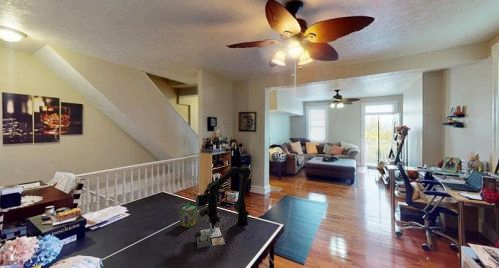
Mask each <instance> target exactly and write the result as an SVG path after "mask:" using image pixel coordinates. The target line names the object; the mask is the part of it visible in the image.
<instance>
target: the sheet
mask: <svg viewBox="0 0 499 268" xmlns="http://www.w3.org/2000/svg"><path fill="white" fill-rule="evenodd" d="M201 235H207V236H208V235H209V239H215V238H221V237H223V236H222V235H223V234H222V232H221V230H220V227H215V231H210V228H208V229H201V230H200V236H201Z"/></svg>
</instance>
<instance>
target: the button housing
mask: <svg viewBox="0 0 499 268" xmlns="http://www.w3.org/2000/svg"><path fill="white" fill-rule="evenodd" d="M196 245H197V247H196V248H197V249H200V248H201V249H202V248H205V247H211V238H209V235H208V236H207V241H206V242H200V236H197V237H196Z"/></svg>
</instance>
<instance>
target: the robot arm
mask: <svg viewBox="0 0 499 268" xmlns="http://www.w3.org/2000/svg"><path fill="white" fill-rule="evenodd" d="M235 174H237V175H238V176H239V187H238V194H237V200H236V201H234V202H233V203H234V204H233V210H234V211H235V212H236V214H237V215H236V222H237V224H238V225H239V226H244V225H248V224H249V223H248V216H249V215H250V212H249V211H248V210H247V205H246V200H245V199H246V192H247V191H246V190H247V182H248V179H249V178H250V174H251V169H250V168H249V167H246V166H240V167H239V166H231V167H230V168H229V169H228V170H226V172H225V173H223V174H221V176H220V177H219V178H217V179H216V180H213V181H211V182H209V183H208V184H207V186H206V189H205V190H204V192H203V194H196V197H195V206H196V207H202V206H205V207H203V208H200V209H199V210H198V214H199V215H200V218H203V217H204V216H206V215H207V216H208V222H209V224H210V223H211V225H212V229H213V228H214V227H215V228H216V225H217V223H219V222H220V218H221V217H220V216H219V215H218V207H219V206H218V205H219V204H218V197H220V196H221V194H220V193H219V191H220V190H221V188H222V186H223V185H224V184H225V183H226V182H227V181H229V180H230V179H231V178H232V177H233V176H234V175H235Z"/></svg>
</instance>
